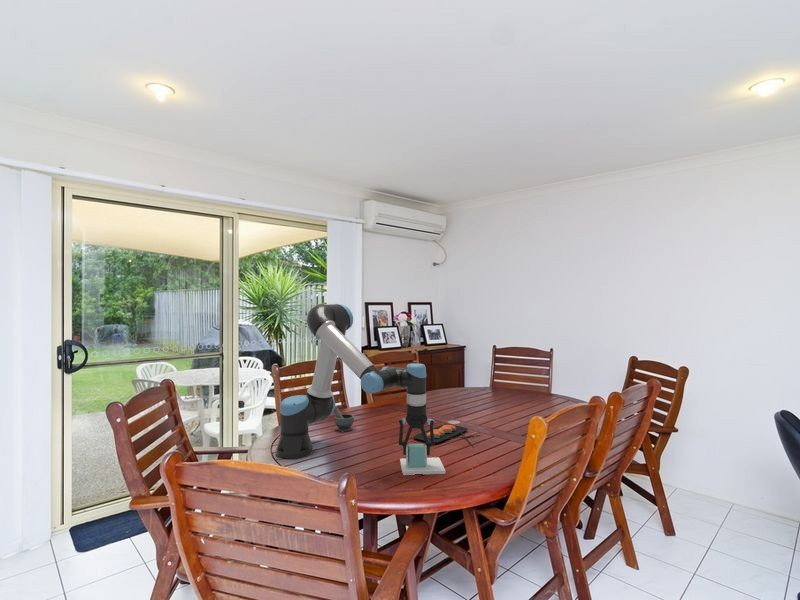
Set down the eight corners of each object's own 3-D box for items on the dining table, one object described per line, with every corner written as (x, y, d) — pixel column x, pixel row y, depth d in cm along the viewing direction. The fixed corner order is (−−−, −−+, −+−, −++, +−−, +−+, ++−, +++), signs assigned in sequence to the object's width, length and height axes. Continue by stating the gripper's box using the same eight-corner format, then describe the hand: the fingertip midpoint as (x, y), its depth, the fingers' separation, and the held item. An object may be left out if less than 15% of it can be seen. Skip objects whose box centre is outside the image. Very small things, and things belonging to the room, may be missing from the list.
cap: (409, 467, 170) (409, 448, 170) (408, 461, 176) (408, 443, 176) (425, 466, 170) (425, 448, 170) (423, 461, 176) (423, 443, 176)
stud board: (402, 475, 165) (402, 458, 165) (399, 461, 179) (399, 446, 179) (445, 473, 167) (445, 457, 167) (439, 460, 181) (439, 445, 181)
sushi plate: (445, 427, 230) (445, 419, 230) (498, 438, 211) (498, 430, 211) (410, 440, 208) (410, 432, 208) (465, 454, 189) (465, 445, 189)
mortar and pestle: (356, 428, 227) (356, 404, 227) (350, 433, 218) (350, 408, 218) (335, 426, 229) (335, 403, 229) (329, 432, 220) (329, 407, 220)
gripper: (441, 402, 176) (441, 460, 176) (392, 401, 178) (392, 458, 178) (441, 406, 168) (441, 467, 168) (390, 405, 170) (390, 465, 170)
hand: (416, 463), depth 173 cm, fingers closed on cap, 6 cm apart
